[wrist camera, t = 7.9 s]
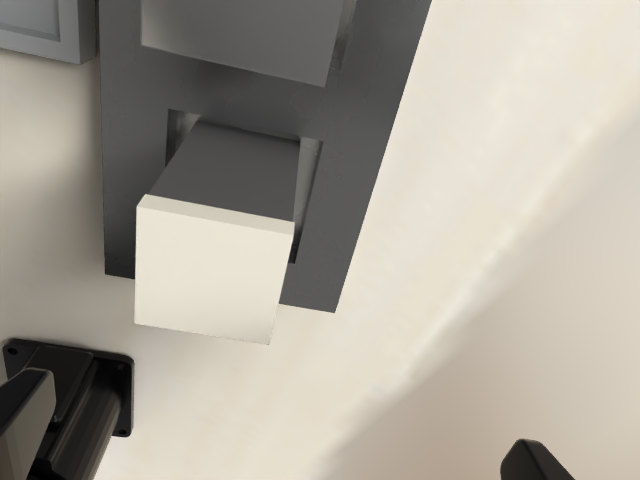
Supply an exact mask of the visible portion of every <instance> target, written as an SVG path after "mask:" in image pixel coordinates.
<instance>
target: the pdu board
mask: <svg viewBox="0 0 640 480" xmlns="http://www.w3.org/2000/svg"><path fill="white" fill-rule="evenodd" d="M431 1H432V0H344V4H343V9H342V13H341V18H340V22H339V26H338V31H337V35H336V40H335V44H334V49H333V53H332V57H331V62H330V66H329V71H328V75H327V79H326V84H325V87H320V86H316V85H311V84H307V83H303V82H298V81H294V80H290V79H285V78H281V77H276V76H272V75H268V74H263V73H259V72H254V71H250V70H246V69H241V68H237V67H232V66H228V65H224V64H219V63H215V62H210V61H206V60H202V59H197V58H193V57H188V56H184V55H180V54H175V53H171V52H166V51H162V50H158V49H153V48H149V47H145V46H140V31H141V0H99V34H100V78H101V122H102V166H103V210H104V254H105V274H107V275H113V276H118V277H124V278H130V279H135V268H136V216H137V205H138V204H139V202H140V201H141V199H142V198H143V196H144V195H145V194H147V195H148V194H149V192H150V191H151V189H152V188H153V186H154V185H155V183H156V182H157V180H158V178H159V177H160V175H161V174H162V172H163V171H164V169H165V168H166V166H167V165H168V163H169V162H170V160H171V159H172V157H173V156H174V154H175V153H176V151H177V150H178V148H179V147H180V145H181V144H182V142H183V141H184V139H185V138H186V136H187V135H188V133H189V132H190V130H191V129H192V127H193V126H194V124H195V123H196V121H197V120H201V121H206V122H211V123H216V124H221V125H225V126H230V127H235V128H240V129H244V130H249V131H254V132H259V133H264V134H268V135H273V136H278V137H283V138H287V139H292V140H297V141H300V152H299V163H298V173H297V184H296V194H295V205H294V215H293V222H295V226H294V236H293V241H292V245H291V250H290V254H289V259H288V263H287V267H286V272H285V276H284V281H283V285H282V290H281V294H280V299H279V303H278V304H284V305H290V306H296V307H302V308H308V309H314V310H320V311H326V312H332V313H335V311H336V308H337V304H338V301H339V298H340V295H341V291H342V288H343V285H344V282H345V279H346V275H347V272H348V269H349V266H350V262H351V259H352V256H353V253H354V250H355V246H356V243H357V240H358V237H359V233H360V230H361V227H362V224H363V221H364V217H365V214H366V211H367V208H368V204H369V201H370V198H371V195H372V191H373V188H374V185H375V182H376V179H377V175H378V172H379V169H380V166H381V162H382V159H383V156H384V153H385V150H386V146H387V143H388V140H389V137H390V133H391V130H392V127H393V124H394V121H395V117H396V114H397V111H398V108H399V104H400V101H401V98H402V95H403V92H404V88H405V85H406V82H407V79H408V75H409V72H410V69H411V66H412V62H413V59H414V56H415V53H416V50H417V46H418V43H419V40H420V37H421V33H422V30H423V27H424V24H425V21H426V17H427V14H428V11H429V8H430V4H431Z"/></svg>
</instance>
